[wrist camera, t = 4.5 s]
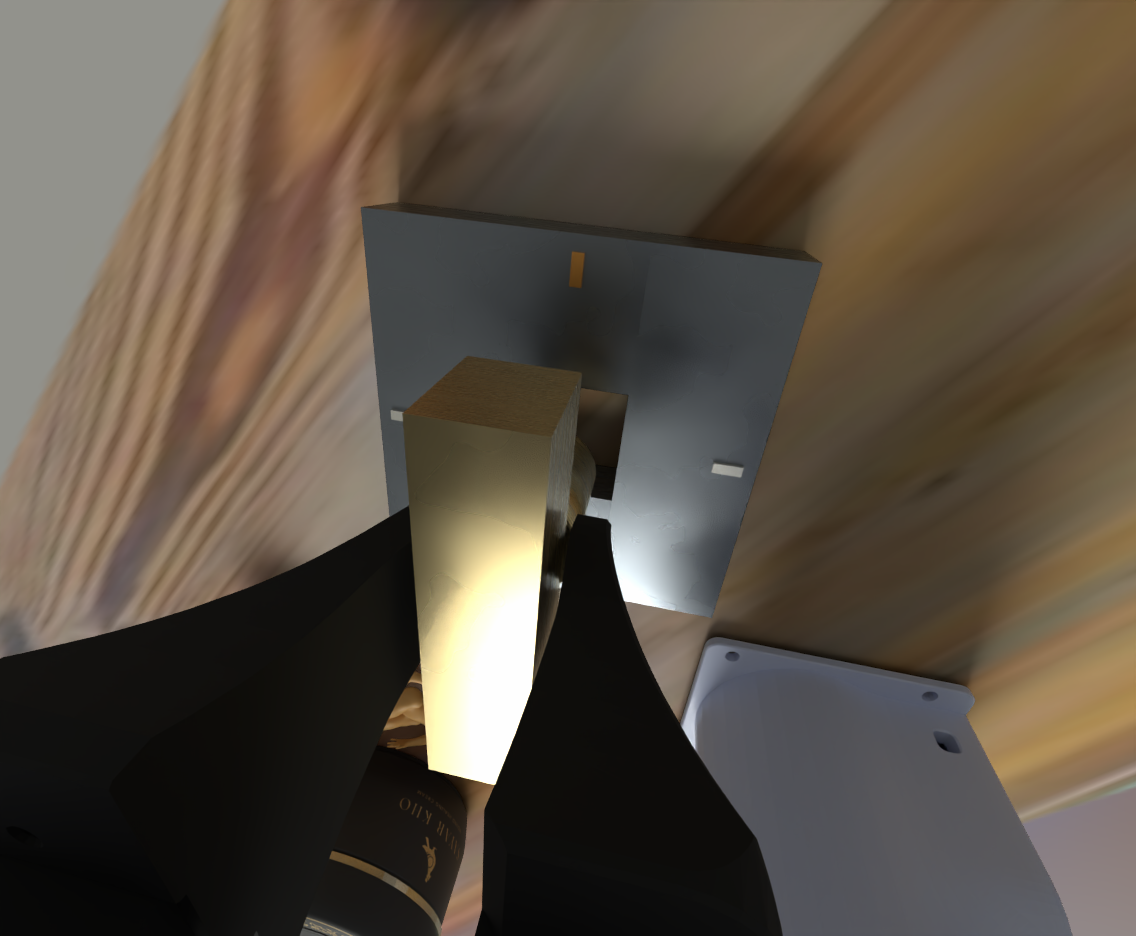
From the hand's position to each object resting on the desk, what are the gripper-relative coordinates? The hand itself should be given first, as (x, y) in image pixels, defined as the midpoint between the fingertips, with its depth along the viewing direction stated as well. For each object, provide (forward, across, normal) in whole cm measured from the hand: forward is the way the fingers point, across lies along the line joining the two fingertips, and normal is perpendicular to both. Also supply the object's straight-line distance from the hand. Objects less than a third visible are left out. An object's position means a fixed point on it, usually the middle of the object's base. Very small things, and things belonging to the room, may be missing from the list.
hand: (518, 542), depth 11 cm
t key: (+3, 0, 0) cm, 3 cm away
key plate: (+7, 0, 0) cm, 7 cm away
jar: (+7, +8, +25) cm, 27 cm away
